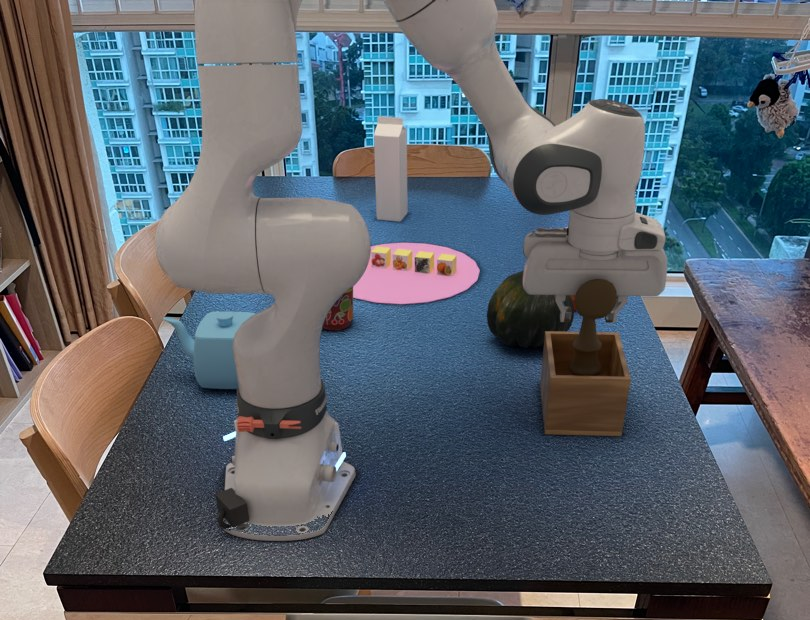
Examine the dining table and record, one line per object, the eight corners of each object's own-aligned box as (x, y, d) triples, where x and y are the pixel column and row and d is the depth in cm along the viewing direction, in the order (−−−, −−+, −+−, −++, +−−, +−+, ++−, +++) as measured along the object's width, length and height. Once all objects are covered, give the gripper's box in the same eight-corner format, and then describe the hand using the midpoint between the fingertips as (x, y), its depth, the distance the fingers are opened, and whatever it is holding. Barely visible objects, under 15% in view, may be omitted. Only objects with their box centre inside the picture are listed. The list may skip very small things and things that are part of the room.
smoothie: (351, 335, 161) (345, 227, 148) (307, 332, 163) (297, 224, 150) (362, 316, 167) (357, 210, 155) (319, 313, 169) (311, 207, 156)
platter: (359, 237, 199) (358, 222, 197) (496, 252, 191) (497, 236, 189) (301, 293, 176) (300, 277, 174) (455, 313, 168) (455, 296, 166)
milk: (384, 211, 212) (381, 112, 198) (408, 213, 211) (406, 114, 197) (376, 220, 208) (372, 119, 194) (400, 222, 206) (398, 121, 192)
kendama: (569, 388, 133) (577, 257, 120) (561, 359, 140) (568, 233, 128) (609, 386, 132) (622, 255, 120) (599, 357, 140) (610, 231, 128)
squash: (469, 297, 161) (498, 255, 146) (542, 286, 165) (577, 246, 151) (490, 369, 159) (521, 335, 145) (563, 357, 163) (600, 322, 149)
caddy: (621, 436, 134) (631, 379, 128) (544, 434, 134) (550, 377, 128) (610, 386, 145) (618, 332, 139) (540, 385, 146) (545, 331, 140)
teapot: (184, 358, 155) (172, 297, 148) (284, 361, 154) (277, 299, 147) (164, 394, 146) (150, 330, 138) (271, 397, 144) (263, 332, 137)
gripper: (525, 236, 120) (518, 329, 129) (677, 237, 119) (659, 331, 128) (523, 219, 125) (516, 310, 134) (669, 221, 124) (652, 312, 133)
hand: (587, 320), depth 131 cm, fingers closed on kendama, 5 cm apart
